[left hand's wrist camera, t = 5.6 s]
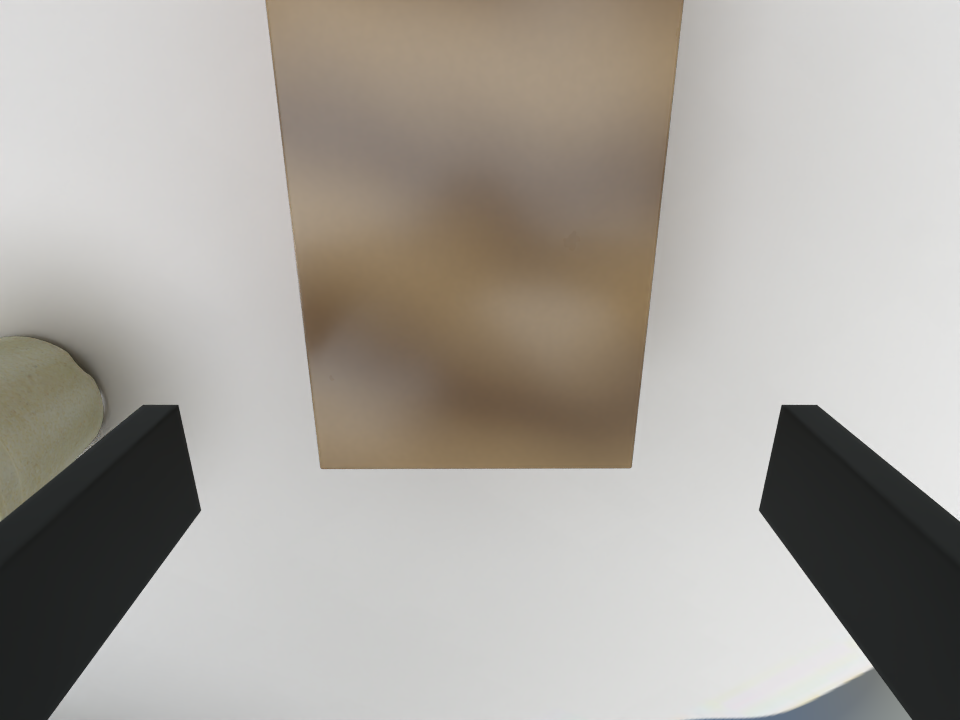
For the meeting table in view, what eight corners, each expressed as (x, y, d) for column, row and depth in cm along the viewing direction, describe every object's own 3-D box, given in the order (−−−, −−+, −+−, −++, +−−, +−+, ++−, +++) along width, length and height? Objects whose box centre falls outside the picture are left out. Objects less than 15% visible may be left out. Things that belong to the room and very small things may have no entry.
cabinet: (329, -148, 20) (223, -351, 12) (620, -147, 20) (723, -349, 12) (368, 365, 27) (319, 469, 19) (583, 365, 27) (631, 469, 19)
